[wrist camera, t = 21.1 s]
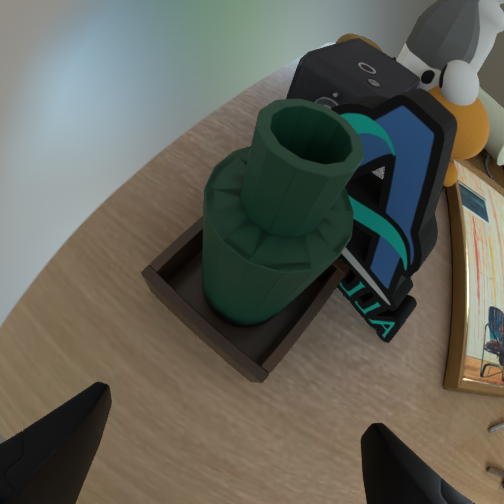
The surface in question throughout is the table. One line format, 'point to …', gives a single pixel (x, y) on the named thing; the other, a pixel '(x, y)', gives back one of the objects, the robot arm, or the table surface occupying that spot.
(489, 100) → the can
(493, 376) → the picture frame
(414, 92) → the decorative sign
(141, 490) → the table surface
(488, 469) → the stick
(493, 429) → the wall anchor
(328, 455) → the table surface
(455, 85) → the toy
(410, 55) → the wine bottle
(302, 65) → the camera
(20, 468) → the robot arm
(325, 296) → the brown wooden square tray
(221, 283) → the stoneware bottle
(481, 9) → the bottle
